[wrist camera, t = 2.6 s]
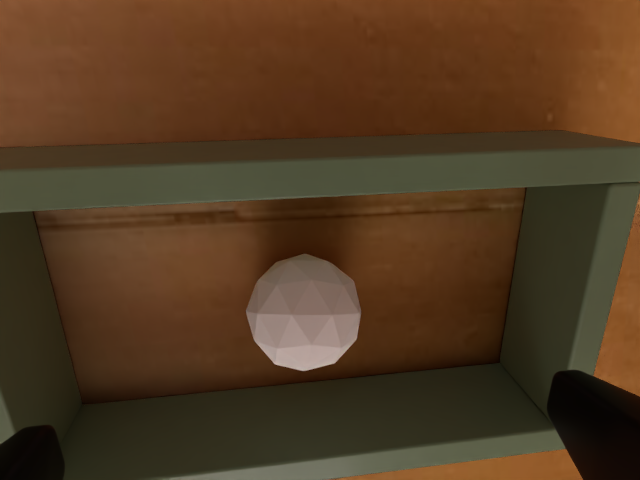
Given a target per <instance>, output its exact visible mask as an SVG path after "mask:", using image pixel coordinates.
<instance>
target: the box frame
mask: <svg viewBox="0 0 640 480" xmlns="http://www.w3.org/2000/svg"><path fill="white" fill-rule="evenodd" d="M639 182H640V143H634V142H628V141H622V140H617V139H611V138H605V137H599V136H593V135H587V134H581V133H575V132H569V131H563V130H549V131H518V132H486V133H454V134H423V135H391V136H360V137H328V138H296V139H265V140H233V141H201V142H170V143H138V144H107V145H75V146H43V147H12V148H0V444H2V443H3V442H4V441H6V440H7V439H8V438H10V437H11V436H13V435H14V434H15V433H17V432H18V431H19V430H21V429H22V428H25V427H29V426H38V425H52V426H53V427H54V428H55V430H56V433H57V436H58V440H59V443H60V447H61V450H62V453H63V457H64V461H65V472H64V477H63V480H327V479H335V478H343V477H351V476H358V475H366V474H374V473H382V472H389V471H397V470H405V469H413V468H420V467H428V466H436V465H444V464H451V463H459V462H467V461H475V460H482V459H490V458H498V457H506V456H514V455H521V454H529V453H537V452H545V451H552V450H560V449H566V448H565V446H564V444H563V442H562V440H561V439H560V437H559V435H558V433H557V431H556V430H555V428H554V426H553V424H552V422H551V421H550V419H549V416H548V413H547V401H548V397H549V392H550V387H551V383H552V378H553V376H554V374H555V373H556V372H558V371H564V370H580V371H583V372H585V373H587V374H589V375H592V376H593V375H594V371H595V367H596V363H597V359H598V355H599V351H600V347H601V343H602V339H603V335H604V331H605V327H606V323H607V319H608V316H609V312H610V308H611V304H612V300H613V296H614V292H615V288H616V284H617V280H618V276H619V272H620V268H621V264H622V260H623V257H624V253H625V249H626V245H627V241H628V237H629V233H630V229H631V225H632V221H633V217H634V213H635V209H636V205H637V201H638V198H639V194H640V183H639ZM520 187H527V191H526V197H525V203H524V210H523V216H522V222H521V229H520V235H519V241H518V247H517V254H516V260H515V266H514V273H513V279H512V285H511V291H510V298H509V304H508V310H507V317H506V323H505V329H504V336H503V342H502V348H501V354H500V363H494V364H484V365H474V366H464V367H454V368H444V369H434V370H424V371H414V372H405V373H395V374H385V375H375V376H365V377H355V378H345V379H335V380H325V381H315V382H305V383H295V384H285V385H275V386H266V387H256V388H246V389H236V390H226V391H216V392H206V393H196V394H186V395H176V396H166V397H156V398H146V399H136V400H127V401H117V402H107V403H97V404H87V405H82V401H81V397H80V393H79V389H78V385H77V381H76V378H75V374H74V370H73V366H72V362H71V358H70V354H69V351H68V347H67V343H66V339H65V335H64V331H63V327H62V324H61V320H60V316H59V312H58V308H57V304H56V301H55V297H54V293H53V289H52V285H51V281H50V277H49V274H48V270H47V266H46V262H45V258H44V254H43V250H42V247H41V243H40V239H39V235H38V231H37V227H36V224H35V220H34V216H33V212H32V211H46V210H66V209H87V208H107V207H128V206H149V205H169V204H190V203H210V202H231V201H252V200H272V199H293V198H314V197H334V196H355V195H375V194H396V193H417V192H437V191H458V190H478V189H499V188H520Z"/></svg>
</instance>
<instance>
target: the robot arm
mask: <svg viewBox="0 0 640 480" xmlns="http://www.w3.org/2000/svg"><path fill="white" fill-rule="evenodd" d="M547 413H548V416H549V419H550V421H551V422H552V424H553V426H554V428H555V430H556V431H557V433H558V435H559V437H560V439H561V440H562V442H563V444H564V446H565V448H566V449H567V451H568V453H569V455H570V457H571V458H572V460H573V462H574V464H575V466H576V467H577V469H578V471H579V473H580V475H581V476H582V478H583V480H640V397H639V396H637V395H635V394H632V393H630V392H628V391H626V390H623V389H621V388H619V387H617V386H614V385H612V384H610V383H608V382H605V381H603V380H601V379H599V378H596V377H594V376H592V375H589V374H587V373H585V372H583V371H580V370H564V371H558V372H556V373H555V374H554V376H553V378H552V383H551V387H550V392H549V397H548V401H547ZM64 472H65V461H64V457H63V453H62V450H61V447H60V443H59V440H58V436H57V433H56V430H55V428H54V427H53V426H52V425H38V426H29V427H25V428H22V429H21V430H19V431H18V432H17V433H15V434H14V435H13V436H11V437H10V438H8V439H7V440H6V441H4V442H3V443H2V444H0V480H63V477H64Z"/></svg>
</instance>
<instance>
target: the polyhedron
mask: <svg viewBox="0 0 640 480" xmlns="http://www.w3.org/2000/svg"><path fill="white" fill-rule="evenodd" d="M246 314H247V318H248V321H249V325H250V328H251V332H252V335H253V339H254V341H255V342H256V343H257V344H258V346H259V347H260V348H261V349H262V350H263V351H264V352H265V354H266V355H267V356H268V357H269V358H270V359H271V361H272V362H273V363H274V364H275V365H279V366H283V367H288V368H292V369H296V370H301V371H307V370H311V369H315V368H319V367H323V366H327V365H330V364H334V363H336V362H337V360H338V359H339V358H340V357H341V356H342V355H343V354H344V353H345V352H346V351H347V350H348V348H349V347H350V346H351V345H352V344H353V343H354V342H355V341H356V340H357V335H358V329H359V323H360V316H361V308H360V304H359V300H358V295H357V291H356V287H355V283H354V281H353V280H352V279H351V278H350V277H348V276H347V275H346V274H345V273H343V272H342V271H341V270H340V269H339V268H337V267H336V266H335V265H334V264H332V263H330V262H328V261H326V260H323V259H320V258H317V257H314V256H311V255H308V254H302V255H299V256H295V257H292V258H288V259H285V260H282V261H278V262H276V263H275V264H274V265H273V266H272V267H271V268H270V269H269V270H268V271H267V272H266V273H265V274H264V275H263V276H262V277H261V278H260V279H259V280H258V281H257V283H256V285H255V287H254V290H253V293H252V295H251V298H250V301H249V304H248V306H247V309H246Z"/></svg>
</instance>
